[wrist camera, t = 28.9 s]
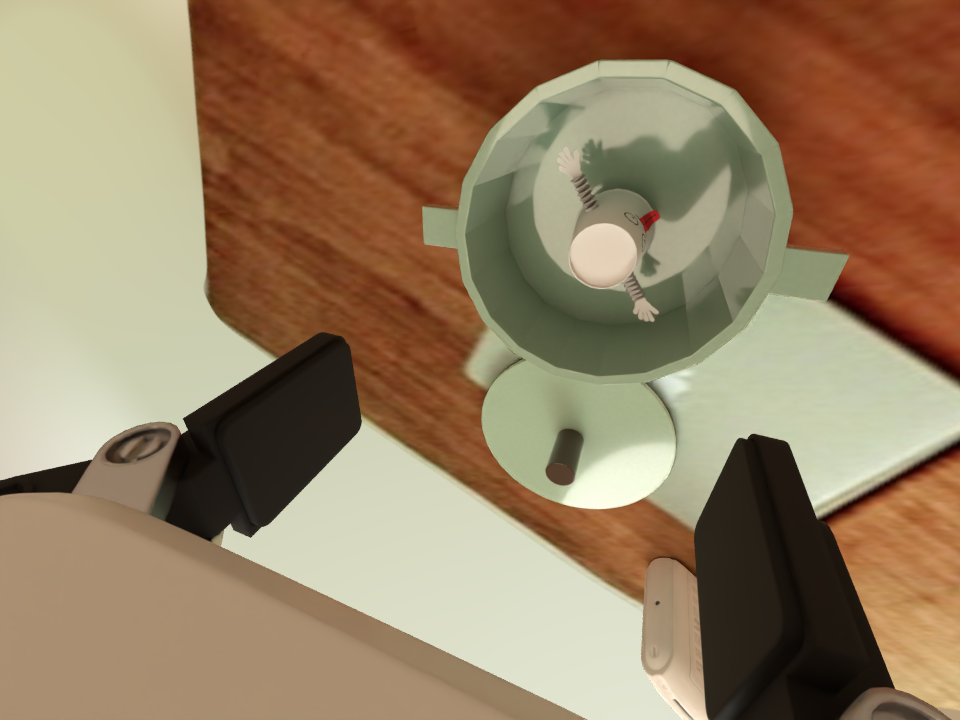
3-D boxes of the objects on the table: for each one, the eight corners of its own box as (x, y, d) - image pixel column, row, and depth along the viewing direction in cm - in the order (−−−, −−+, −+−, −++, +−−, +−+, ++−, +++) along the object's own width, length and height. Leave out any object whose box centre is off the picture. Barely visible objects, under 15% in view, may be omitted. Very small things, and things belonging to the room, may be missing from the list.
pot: (470, 73, 28) (408, 60, 21) (867, 75, 21) (961, 57, 15) (467, 303, 37) (423, 345, 30) (746, 355, 30) (769, 424, 24)
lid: (488, 330, 38) (463, 362, 33) (704, 374, 32) (710, 419, 28) (482, 470, 47) (462, 510, 42) (648, 522, 42) (645, 574, 37)
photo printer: (639, 561, 45) (631, 686, 35) (672, 551, 43) (675, 683, 33) (701, 620, 46) (711, 759, 36) (738, 614, 43) (760, 761, 34)
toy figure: (695, 277, 29) (705, 328, 22) (619, 309, 32) (606, 363, 25) (620, 114, 26) (603, 113, 19) (543, 166, 29) (506, 182, 22)
